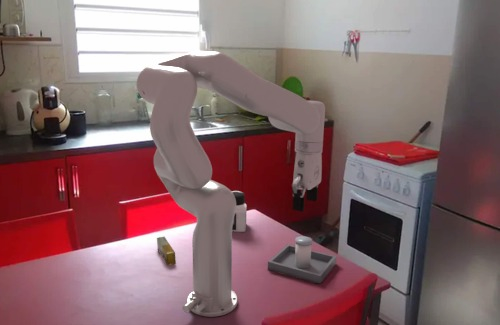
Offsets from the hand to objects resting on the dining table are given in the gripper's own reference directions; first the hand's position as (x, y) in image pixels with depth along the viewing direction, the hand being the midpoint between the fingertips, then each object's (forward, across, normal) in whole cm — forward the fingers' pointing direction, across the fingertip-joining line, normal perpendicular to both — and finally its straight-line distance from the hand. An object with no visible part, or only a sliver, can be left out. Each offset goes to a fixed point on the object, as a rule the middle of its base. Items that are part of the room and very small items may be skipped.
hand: (305, 205), depth 127 cm
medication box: (+20, -15, +38) cm, 46 cm away
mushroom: (+19, 0, 0) cm, 19 cm away
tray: (+19, 0, 0) cm, 19 cm away
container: (+20, +15, +32) cm, 40 cm away
